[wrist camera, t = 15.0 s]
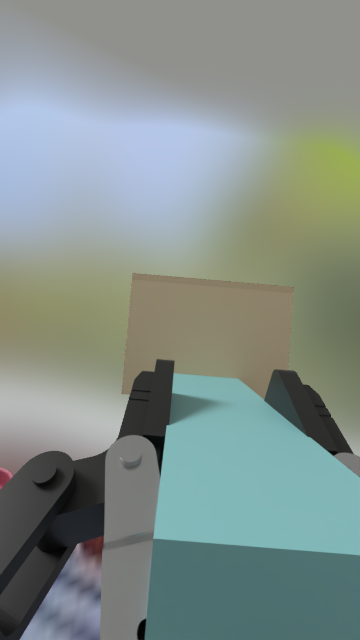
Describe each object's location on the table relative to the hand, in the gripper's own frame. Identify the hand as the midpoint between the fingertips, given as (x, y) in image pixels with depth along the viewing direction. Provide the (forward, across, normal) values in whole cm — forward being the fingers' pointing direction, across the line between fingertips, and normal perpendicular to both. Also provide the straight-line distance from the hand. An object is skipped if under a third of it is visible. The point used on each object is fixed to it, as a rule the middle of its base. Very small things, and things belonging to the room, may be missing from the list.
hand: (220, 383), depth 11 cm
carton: (+3, 0, +4) cm, 5 cm away
